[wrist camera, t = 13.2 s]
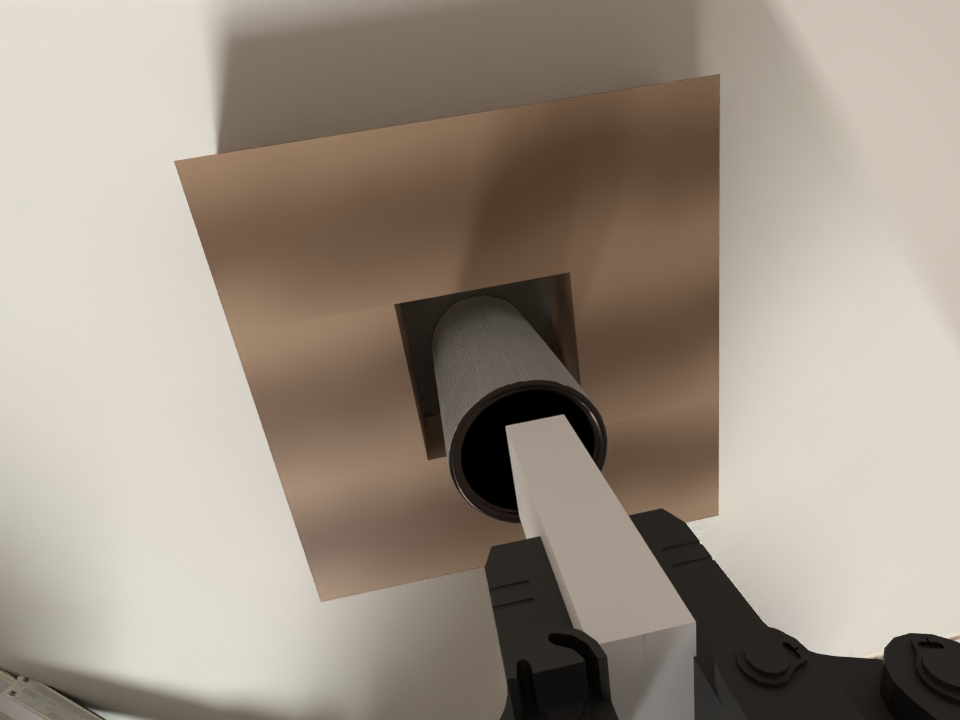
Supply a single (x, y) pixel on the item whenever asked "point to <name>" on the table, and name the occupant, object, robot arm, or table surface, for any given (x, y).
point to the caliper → (38, 701)
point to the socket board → (463, 267)
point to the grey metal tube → (501, 398)
